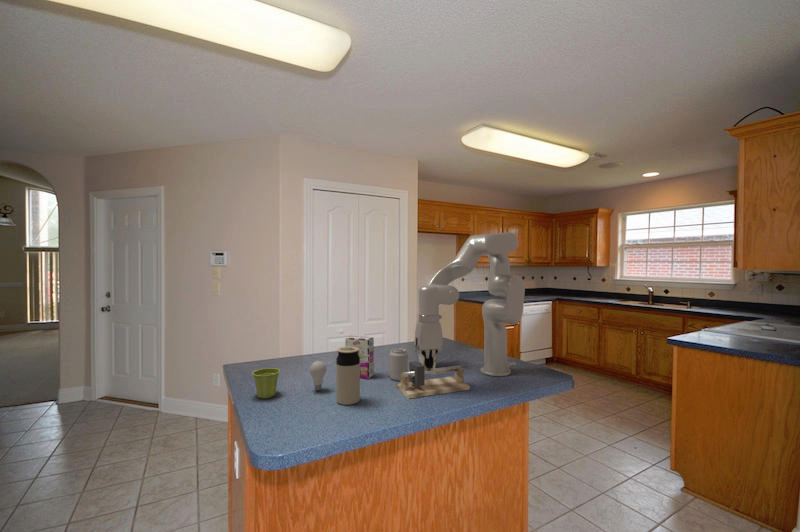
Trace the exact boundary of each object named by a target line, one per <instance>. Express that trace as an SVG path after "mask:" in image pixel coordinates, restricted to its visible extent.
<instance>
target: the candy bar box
mask: <svg viewBox="0 0 800 532" xmlns="http://www.w3.org/2000/svg"><path fill="white" fill-rule="evenodd" d="M374 341H375V340H374V337H372V336H371V337H370V336H361V335H360V336H357V335H349V336H346V337H345V347H357V348H359V351H358V355H359V357H360V379H366V380H370V379H371V378H373V377H374V375H375V371H374V370H375V365H374V364H375V363H374V361H375V360H374V359H375V357H374V354H375V353H374V350H375V349H374V346H375V345H374V343H375V342H374Z"/></svg>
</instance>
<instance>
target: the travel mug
mask: <svg viewBox="0 0 800 532" xmlns="http://www.w3.org/2000/svg"><path fill="white" fill-rule="evenodd" d="M336 351H337V354H338V355H337V357H336V360H335V361H336V362H335V363H336V370H335V371H336V373H335V375H336V403H338V404H339V405H343V406H350V405H355V404H357V403H359V402H360V400H361V395H360V394H361V378H360V357H359V355H358V351H359V348H357V347H346V346H342V347H338V348H337V349H336Z"/></svg>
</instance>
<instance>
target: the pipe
mask: <svg viewBox="0 0 800 532" xmlns="http://www.w3.org/2000/svg"><path fill="white" fill-rule="evenodd" d="M459 369H463V368H462V366H461V364H460V365H452V366H445V367H444V366H443V367H438V368H437V367H435V368H434V369H425V376H430V375H436V374H437V375H438V374H445V373H453V372H454V373H455V371H458V370H459ZM402 375H404V376H409V377H415V371H410V372H409V371H408V372H403V373H402Z"/></svg>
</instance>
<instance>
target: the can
mask: <svg viewBox="0 0 800 532" xmlns="http://www.w3.org/2000/svg"><path fill="white" fill-rule="evenodd" d="M408 355H409V353H408V352H407V349H405V348H403V347H396V348H395V347H393V348H392V349H391V350H390V352H389V378H390V379H391V380H392V381H395V382H396V381H397V382H401V374H402V373H403V372H409V367H408V366H409V365H408V364H409V362H408V361H409V358H408V357H409V356H408Z"/></svg>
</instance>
